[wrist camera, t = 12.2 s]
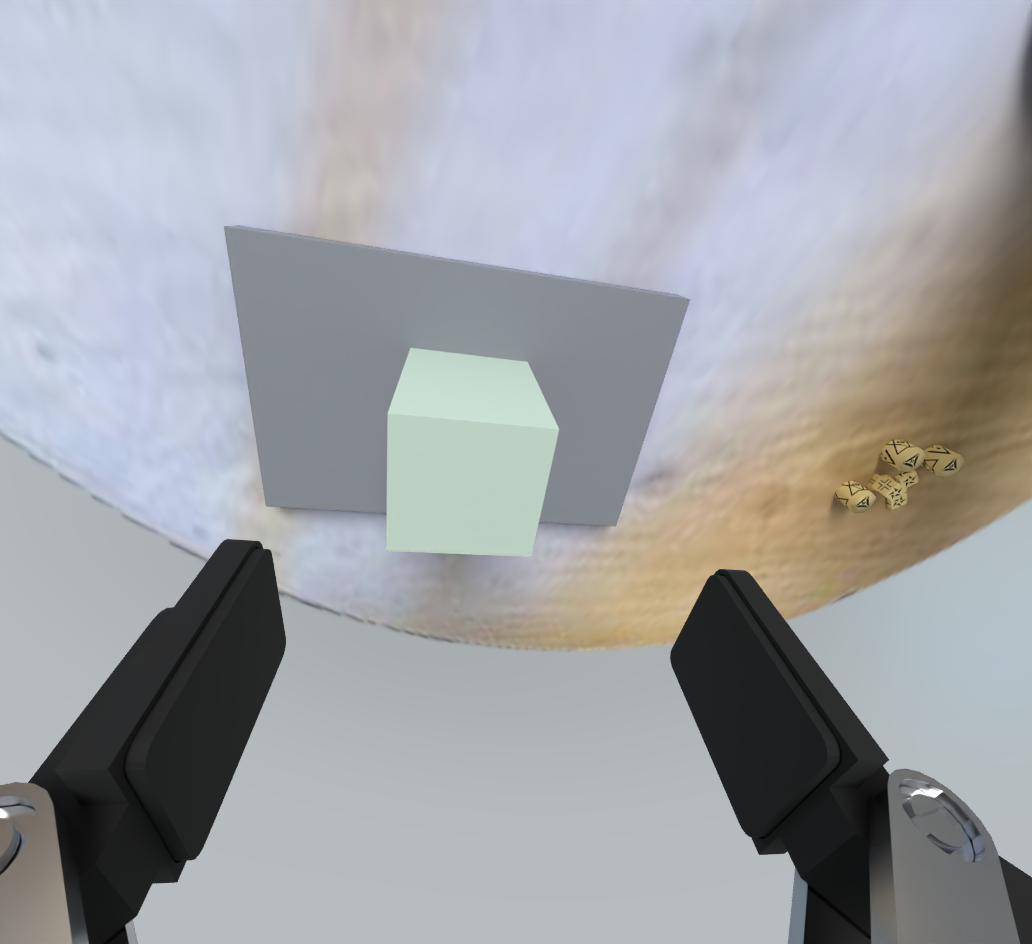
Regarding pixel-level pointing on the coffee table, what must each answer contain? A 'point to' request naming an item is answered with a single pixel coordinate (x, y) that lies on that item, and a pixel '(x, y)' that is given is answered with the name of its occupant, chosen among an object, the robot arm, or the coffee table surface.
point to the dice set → (905, 461)
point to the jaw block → (467, 455)
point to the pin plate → (439, 327)
